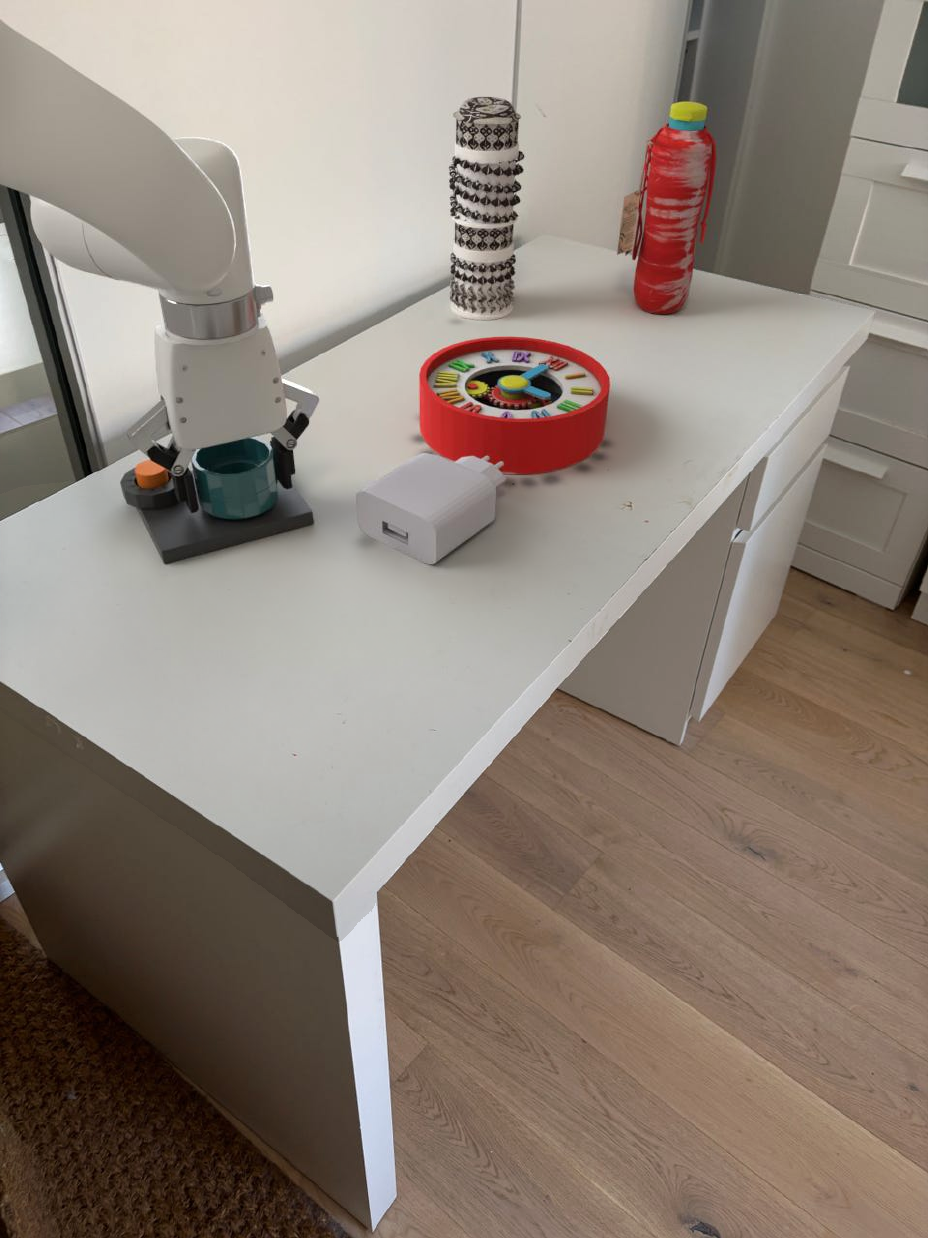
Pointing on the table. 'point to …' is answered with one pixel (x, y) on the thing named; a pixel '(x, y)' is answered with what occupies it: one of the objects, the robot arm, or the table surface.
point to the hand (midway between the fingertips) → (237, 492)
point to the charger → (430, 504)
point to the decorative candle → (484, 207)
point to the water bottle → (670, 209)
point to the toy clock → (513, 403)
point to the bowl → (236, 478)
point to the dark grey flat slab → (207, 520)
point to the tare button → (151, 474)
